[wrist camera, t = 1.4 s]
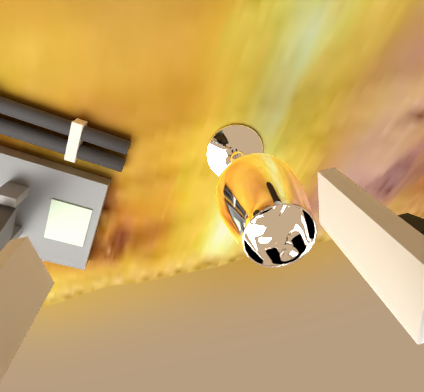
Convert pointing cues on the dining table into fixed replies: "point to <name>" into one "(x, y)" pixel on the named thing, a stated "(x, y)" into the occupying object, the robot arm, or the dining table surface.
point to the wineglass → (260, 199)
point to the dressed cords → (73, 129)
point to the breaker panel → (52, 205)
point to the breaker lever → (6, 224)
